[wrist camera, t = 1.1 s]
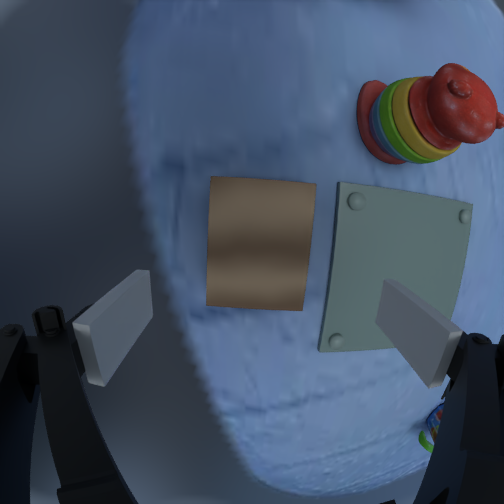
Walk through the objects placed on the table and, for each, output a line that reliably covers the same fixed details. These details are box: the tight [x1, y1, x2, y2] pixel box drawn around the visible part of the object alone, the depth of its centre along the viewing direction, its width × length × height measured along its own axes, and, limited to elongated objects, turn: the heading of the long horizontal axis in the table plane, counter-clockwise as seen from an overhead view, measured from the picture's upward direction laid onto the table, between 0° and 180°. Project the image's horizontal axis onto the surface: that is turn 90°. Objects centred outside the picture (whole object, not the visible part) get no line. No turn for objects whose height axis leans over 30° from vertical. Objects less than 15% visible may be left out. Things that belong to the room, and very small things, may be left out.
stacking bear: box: [357, 63, 504, 164], centre depth 21 cm, size 11×10×18 cm
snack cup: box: [419, 404, 444, 453], centre depth 36 cm, size 16×10×10 cm
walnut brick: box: [206, 176, 316, 311], centre depth 30 cm, size 13×10×6 cm
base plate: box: [318, 182, 473, 352], centre depth 33 cm, size 22×22×2 cm
